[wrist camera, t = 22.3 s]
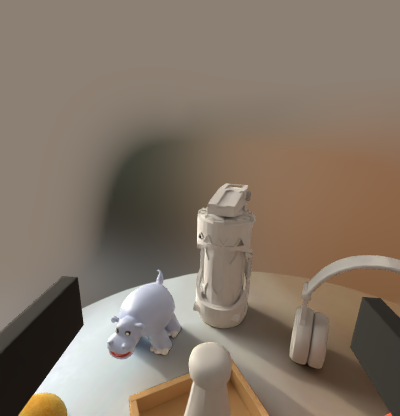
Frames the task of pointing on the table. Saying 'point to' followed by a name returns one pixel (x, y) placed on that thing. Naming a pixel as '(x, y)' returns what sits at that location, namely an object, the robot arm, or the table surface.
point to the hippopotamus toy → (145, 321)
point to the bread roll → (44, 406)
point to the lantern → (224, 257)
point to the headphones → (318, 322)
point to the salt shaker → (209, 381)
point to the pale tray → (180, 391)
